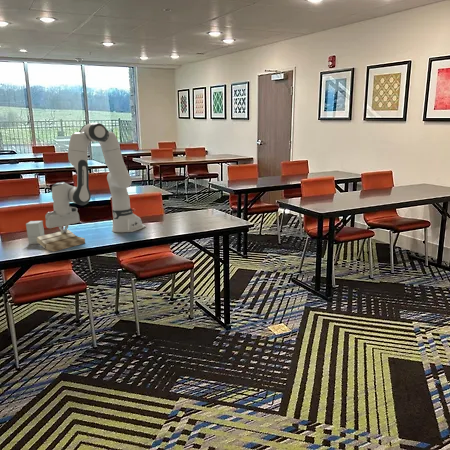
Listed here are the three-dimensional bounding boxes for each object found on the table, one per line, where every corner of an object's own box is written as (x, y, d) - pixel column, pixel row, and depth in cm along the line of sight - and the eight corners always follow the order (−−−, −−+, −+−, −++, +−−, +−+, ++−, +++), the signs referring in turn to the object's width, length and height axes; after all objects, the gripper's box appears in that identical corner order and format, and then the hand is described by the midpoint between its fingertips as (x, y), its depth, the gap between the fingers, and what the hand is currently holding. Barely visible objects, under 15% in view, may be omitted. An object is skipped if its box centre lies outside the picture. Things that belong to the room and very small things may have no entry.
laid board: (77, 241, 251) (76, 235, 250) (85, 243, 246) (84, 237, 245) (46, 249, 236) (45, 243, 235) (53, 251, 231) (53, 245, 230)
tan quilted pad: (67, 233, 256) (68, 229, 254) (76, 240, 252) (76, 235, 250) (36, 241, 241) (36, 236, 239) (44, 248, 236) (45, 243, 235)
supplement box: (45, 240, 255) (43, 220, 252) (41, 243, 247) (38, 223, 244) (33, 241, 254) (30, 220, 251) (28, 244, 247) (25, 223, 244)
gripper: (47, 213, 237) (50, 237, 240) (79, 207, 252) (82, 230, 256) (42, 212, 241) (44, 235, 244) (74, 206, 256) (76, 228, 259)
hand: (64, 232), depth 250 cm, fingers closed, pressing on tan quilted pad
